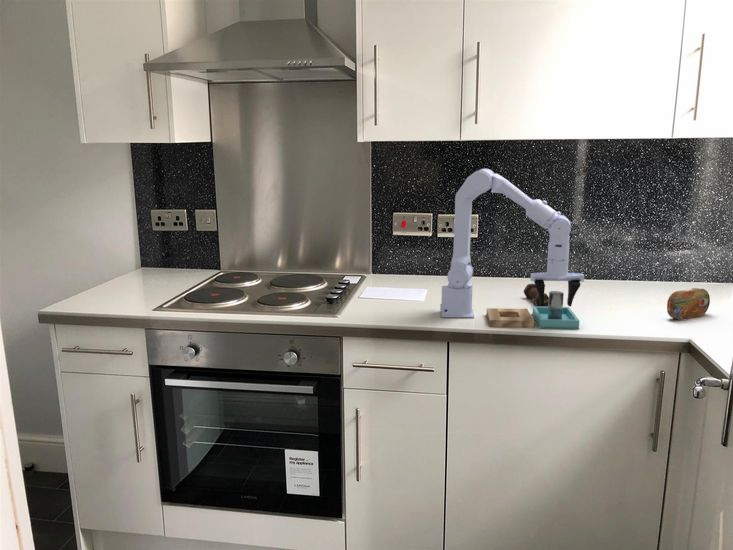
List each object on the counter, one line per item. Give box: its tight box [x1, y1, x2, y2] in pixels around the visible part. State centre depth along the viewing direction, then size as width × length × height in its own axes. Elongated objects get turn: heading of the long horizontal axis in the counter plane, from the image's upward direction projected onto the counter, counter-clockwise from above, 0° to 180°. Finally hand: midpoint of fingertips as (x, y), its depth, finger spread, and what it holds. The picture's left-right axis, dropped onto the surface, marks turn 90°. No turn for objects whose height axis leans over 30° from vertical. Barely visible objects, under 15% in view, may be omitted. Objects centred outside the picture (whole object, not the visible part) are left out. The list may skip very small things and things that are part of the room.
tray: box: [531, 306, 580, 330], centre depth 180 cm, size 11×14×2 cm
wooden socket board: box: [486, 307, 534, 329], centre depth 181 cm, size 12×12×2 cm
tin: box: [666, 287, 711, 321], centre depth 181 cm, size 15×3×8 cm, turn 114°
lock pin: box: [548, 290, 564, 319], centre depth 179 cm, size 4×4×8 cm
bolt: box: [523, 283, 549, 307], centre depth 198 cm, size 6×5×15 cm
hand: (555, 305), depth 179 cm, fingers open, 7 cm apart
